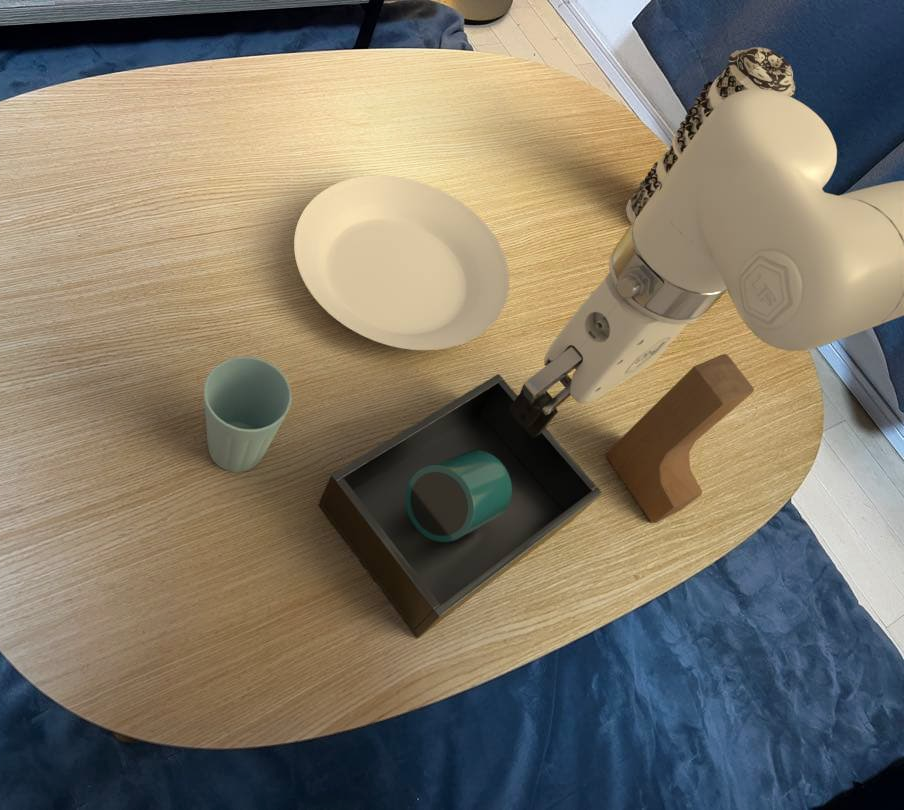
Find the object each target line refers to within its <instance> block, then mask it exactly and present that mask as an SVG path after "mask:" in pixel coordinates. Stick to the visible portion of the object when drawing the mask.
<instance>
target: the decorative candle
mask: <svg viewBox="0 0 904 810" xmlns="http://www.w3.org/2000/svg"><path fill="white" fill-rule="evenodd" d="M793 72H794V71H793V70H792V66H791V64H789V62H788V61H787V60H786V59H785V57H783V56H782V55H780V54H779V53H778V52H775V51H773V50H771V49H769V48H766V47H762V46H756V47H755V46H754V47H749V48H746V49H740V50H739V49H738V50H735V51H733V52H732V53H731V54H730V55H729V58H728V62H727V65H726V66H725V68H724V69H723V72H722V73H721V74H720V75H718V76H717V77H715V78H716V79H714V81H707V82H705V83H704V84H703V89H702V90H700V96H697V97H696V98H695V99H694V104H693V105H692V106H691V107H689V109H688V113H686V115H685V116H684V120H682V121H681V122H680V123H679V127H678V129H676V132H675V133H674V134H673V138H672V140H671V145H670V146H669V149H668V150H667V151H666V152H664V153H663V154H662V156H661V157H660V159H659V160H658V161H655V162H654V163H653V166H652V167H651V169H650V170H649V171H648V172H647V175H646V176H645V177H644V179H643V180H642V181H641V182H640V183H639V186H637V188H636V189H635V190H634V192H633V194H632V196H631V198H630V199H629V200H628V201H627V204H626V207H625V212H626V216H627V219H628V221H629V223H630V224H632V223H633V222H634V220H635V219H636V217H637V216H638V215H639V214H640V212H641V211H642V209H643V208H644V206H645V205H646V203H647V202H648V201H649V199H650V198H651V196H652V195H653V193H654V192H655V191H656V189H657V188H658V186H659V185H660V183H661V182H662V181H663V179H664V178H665V176H666V175H667V173H668V172H669V171H670V169H671V168H672V166H673V165H674V164H675V162H676V161H677V159H678V158H679V157H680V155H681V154H682V152H683V151H684V150H685V148H686V147H687V145H688V144H689V142H690V141H691V140H692V138H693V137H694V135H695V134H696V133H697V131H698V130H699V128H700V127H701V126H702V124H703V123H704V121H705V120H706V119H707V117H708V116H709V115H710V114H711V112H712V111H713V110H714V108H715V107H716V106H717V105H718V104H719V103H720V102H722V101H723V100H724V99H725V98H727V97H728V96H730V95H732V94H734V93H737V92H739V91H742V90H747V89H766V90H772V91H776V92H780V93H783V94H785V95H788V96H790V97H792V96H793V95H794V94H795V90H796V83H795V81H794V73H793Z"/></svg>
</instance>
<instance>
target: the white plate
mask: <svg viewBox="0 0 904 810" xmlns="http://www.w3.org/2000/svg"><path fill="white" fill-rule="evenodd" d="M295 227H296V228H295V232H294V238H293V239H294V240H293V251H294V257H295V262H296V266H297V269H298V272H299V275H300V277H301V279H302V280H303V282H304V283H303V284H304V285H305V287H306V288H307V289H308V292H309V293H310V294H311V295H312V297H313V298H314V299H315V301H316V302H317V303H318V304H319V305H320V306H321V307H322V308H323V309H324V310H325V311H326V312H327V313H328V315H330V316H332V317H333V318H334V319H335V320H337V322H339V323H341V324H342V325H343V326H345V327H346V328H348V329H349V330H351V331H353V332H355V333H357V334H358V335H360V336H362V337H365V338H367V339H369V340H371V341H373V342H376V343H379V344H383V345H386V346H390V347H394V348H399V349H405V350H412V351H436V350H443V349H444V350H445V349H449V348H453V347H457V346H461V345H462V344H463V345H464V344H465V343H468V342H470V341H472V340H474V339H476V338H477V337H479V336H480V335H482V334H484V333H485V332H486V331H487V330H488V329H489V328H491V326H493V325H494V324H495V322H496V321H497V320H498V318H500V316H501V314H502V312H503V310H504V309H505V305H506V303H507V301H508V298H509V297H508V296H509V292H510V272H509V266H508V261H507V258H506V256H505V252H504V250H503V248H502V246H501V244H500V241H498V239H497V237H496V236H495V234H494V232H493V231H492V230H491V229H490V227H489V226H488V225H487V224H486V222H485V221H484V220H483V219H482V218H481V217H480V216H479V215H478V214H477V213H476V212H475V211H474V210H472V209H471V208H470V207H469V206H467V205H466V204H465V203H464V202H462V201H461V200H460V199H458V198H456V197H454V195H451V194H449V193H448V192H446V191H444V190H442V189H439V188H437V187H436V186H433V185H430V184H427V183H425V182H422V181H419V180H416V179H412V178H407V177H401V176H395V175H394V176H393V175H365V176H359V177H353V178H348V179H346V180H343V181H340V182H337V183H335V184H333V185H330V186H329V187H327V188H326V189H324V190H322V191H321V192H320V193H318V194H317V195H316V196H315V197H314V198H312V200H311V201H309V203H308V204H307V205H306V207H305V208H304V210H303V211H302V213H301V215H300V217H299V219H298V222H297V225H296V226H295Z"/></svg>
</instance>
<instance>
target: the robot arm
mask: <svg viewBox="0 0 904 810" xmlns="http://www.w3.org/2000/svg"><path fill="white" fill-rule="evenodd" d="M837 157H838V149H837V144H836V141H835V139H834V136H833V134H832V132H831V130H830V128H829V127H828V125H827V124H826V123H825V121H824V120H823V119H822V118H821V117H820V116H819V115H818V114H817V113H816V112H815V111H813V109H812V108H810V107H809V106H807V105H806V104H805V103H802V102H801V101H800V100H797V99H795V98H794V97H792V96H788V95H785V94H783V93H780V92H776V91H772V90H766V89H747V90H742V91H739V92H737V93H734V94H732V95H730V96H728V97H727V98H725V99H724V100H723V101H722V102H720V103H719V104H718V105H717V106H716V107H715V108H714V110H713V111H712V112H711V114H710V115H709V116H708V117H707V119H706V120H705V121H704V123H703V124H702V126H701V127H700V128H699V130H698V131H697V133H696V134H695V135H694V137H693V138H692V140H691V141H690V142H689V144H688V145H687V147H686V148H685V150H684V151H683V152H682V154H681V155H680V157H679V158H678V159H677V161H676V162H675V164H674V165H673V166H672V168H671V169H670V171H669V172H668V173H667V175H666V176H665V178H664V179H663V181H662V182H661V183H660V185H659V186H658V188H657V189H656V191H655V192H654V193H653V195H652V196H651V198H650V199H649V201H648V202H647V203H646V205H645V206H644V208H643V209H642V211H641V212H640V214H639V215H638V216H637V217H636V219H635V220H634V222H633V223H632V224H631V223H630V224H631V225H629V227H628V229H626V231H625V233H624V234H623V235H622V237H621V238H620V240H619V241H618V243H617V244H616V245H615V247H614V248H613V250H612V251H611V253H610V256H609V259H608V270H609V271H608V274H607V275H606V276H605V278H604V279H603V280H602V281H601V282H600V283H599V284H598V285H597V287H596V288H595V289H594V290H592V291H591V292H590V295H589V296H588V297H587V298H586V299H585V300H584V302H583V303H581V305H580V307H579V308H578V309H577V310H576V311H575V313H574V314H573V315H572V316H571V317H570V319H568V321H567V322H566V324H565V325H564V326H563V328H562V329H561V330H560V331H559V333H558V334H557V335H556V337H555V338H554V340H553V341H552V342H551V344H550V346H549V347H548V348H547V351H546V353H545V355H544V358H543V365H544V367H543V368H542V369H540V370H539V371H537V372H536V373H534V374H533V375H532V376H531V377H529V378H528V379H526V381H525V382H524V383H523V384H522V386H521V390H520V392H519V394H517V398H516V399H515V401H514V402H513V403H512V405H511V406H510V411H511V413H512V414H513V415H514V416H515V419H516V420H517V422H518V423H519V424H520V425H521V426H522V427H524V428H525V429H526V431H527V432H528V433H529V434H530V435H531V436H532V437H536V436H538V435H539V434H540V433H541V432H542V431H543V430H544V428H546V427H548V425H549V424H550V423H551V422H552V420H553V419H554V418H555V416H556V415H557V414H558V413H559V411H558V407H559V406H560V405H561V404H563V402H565V401H566V400H567V399H568V398H570V396H571V398H573V400H574V401H575V402H576V403H577V404H581V405H583V404H584V405H585V404H590V403H592V402H594V401H596V400H598V399H600V398H601V397H602V396H604V395H606V394H607V393H609V392H610V391H612V390H614V389H615V388H617V387H619V386H621V384H623V383H625V382H627V381H628V380H630V379H631V378H633V377H634V376H636V375H637V374H639V373H640V372H642V371H643V370H645V369H646V368H648V367H650V366H652V364H653V363H654V362H656V361H657V360H659V358H661V356H662V355H663V354H664V353H665V352H666V351H667V349H669V347H670V346H671V345H672V343H673V342H674V341H675V340H676V338H677V337H679V335H680V334H681V332H683V330H684V329H685V328H686V327H687V325H688V324H692V323H695V322H697V321H699V320H700V319H702V318H703V317H704V316H705V315H706V314H707V313H708V312H709V310H710V309H711V308H712V307H713V306H714V305H715V304H716V303H717V302H718V301H719V300H720V299H721V297H723V295H725V293H726V292H727V293H728V295H729V297H730V300H731V301H732V304H733V305H734V307H735V309H736V311H737V313H738V315H739V317H740V318H741V320H742V321H743V323H744V324H745V326H746V327H747V328H748V329H749V330H750V331H751V332H752V333H753V335H754V336H756V338H758V339H759V340H761V341H762V342H764V343H765V344H767V345H769V346H771V347H773V348H776V349H777V350H778V349H779V350H782V351H789V352H803V351H804V352H805V351H809V350H810V351H811V350H813V349H818V348H822V347H824V346H827V345H830V344H832V343H835V342H838V341H840V340H843V339H845V338H848V337H851V336H854V335H856V334H860V333H862V332H864V331H867V330H870V329H872V328H875V327H877V326H880V325H882V324H885V323H887V322H890V321H893V320H895V319H899V318H901V317H904V180H898V181H897V180H896V181H891V182H886V183H883V184H878V185H873V186H869V187H865V188H860V189H858V190H853V191H850V192H847V193H843V194H840V195H837V194H833V193H829V192H825V191H824V189H823V188H824V187H825V186H826V185H827V183H828V182H829V181H830V179H831V177H832V176H833V173H834V171H835V168H836V166H837V161H838V159H837ZM574 370H575V371H574ZM573 371H574V372H573ZM571 372H573V373H572V376H571V377H572V378H571V377H570V375H569V374H570V373H571ZM558 382H560V383H561V384H562V386H563V387H564V388H563V389H561V391H560V392H558V393H557V394H556V395H555V396H554V397H553V396H551V394H550V393H549V392H548V390H549V389H550V388H552V387H553V386H554V385H556V384H557V383H558Z"/></svg>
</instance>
